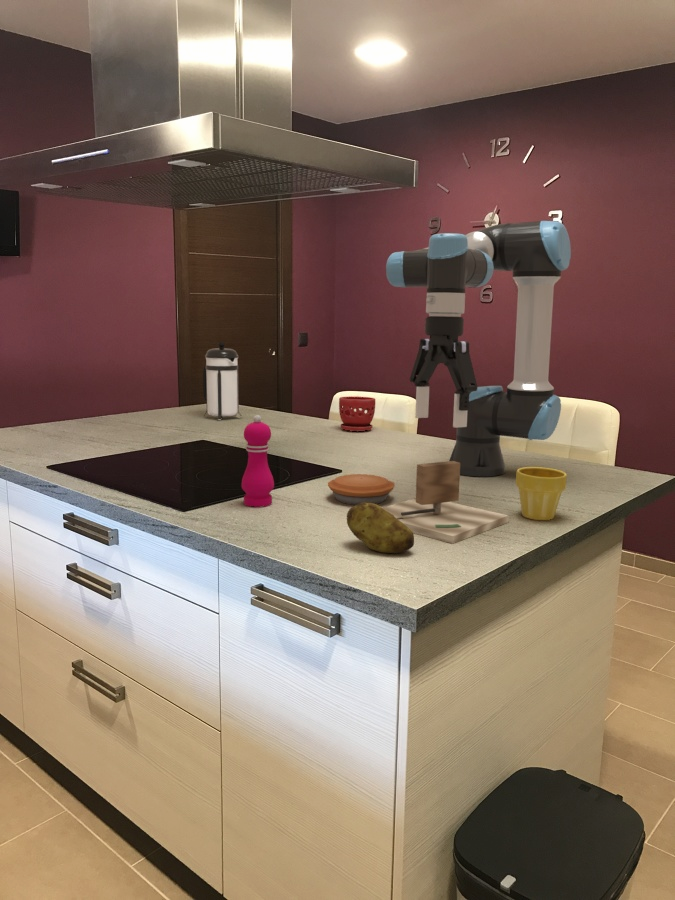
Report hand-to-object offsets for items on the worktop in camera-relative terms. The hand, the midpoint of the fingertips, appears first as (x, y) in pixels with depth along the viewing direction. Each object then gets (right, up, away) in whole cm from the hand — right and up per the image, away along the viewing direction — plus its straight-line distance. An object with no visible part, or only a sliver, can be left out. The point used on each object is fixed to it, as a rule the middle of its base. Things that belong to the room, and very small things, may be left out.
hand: (439, 422), depth 147 cm
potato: (-13, -24, -14) cm, 30 cm away
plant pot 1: (-14, +1, +116) cm, 117 cm away
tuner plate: (0, -20, +4) cm, 21 cm away
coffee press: (-67, +7, +141) cm, 156 cm away
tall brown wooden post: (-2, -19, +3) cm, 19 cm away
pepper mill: (-39, -18, +16) cm, 45 cm away
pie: (-15, -17, +21) cm, 31 cm away
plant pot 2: (+22, -20, +9) cm, 31 cm away
